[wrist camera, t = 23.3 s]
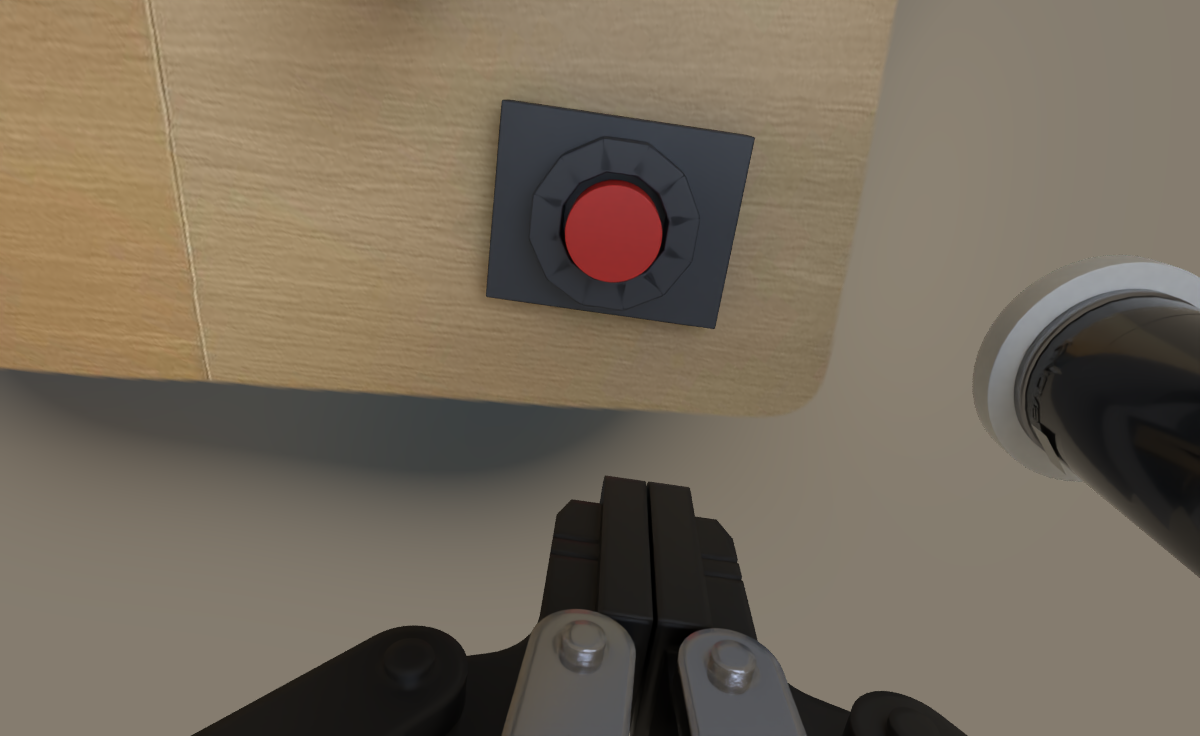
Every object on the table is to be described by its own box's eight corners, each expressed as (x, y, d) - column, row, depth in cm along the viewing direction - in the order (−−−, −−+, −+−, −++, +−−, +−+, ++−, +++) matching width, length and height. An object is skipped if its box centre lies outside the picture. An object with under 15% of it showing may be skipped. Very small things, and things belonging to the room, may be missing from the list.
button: (667, 186, 27) (670, 192, 25) (651, 277, 28) (653, 289, 26) (574, 173, 27) (571, 178, 25) (562, 264, 28) (559, 275, 26)
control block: (748, 135, 29) (763, 139, 26) (710, 318, 32) (720, 343, 29) (508, 99, 29) (493, 99, 25) (492, 286, 32) (477, 309, 28)
